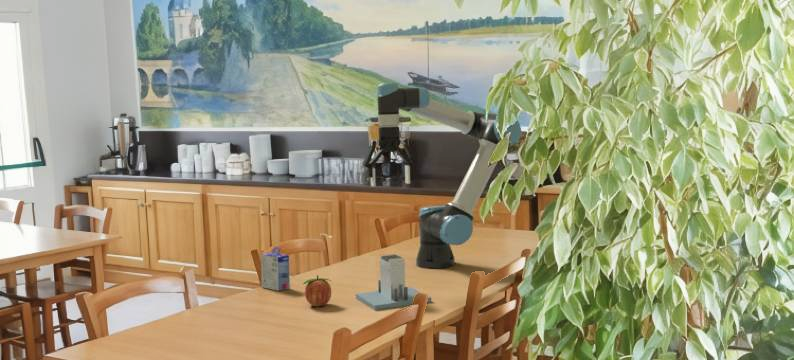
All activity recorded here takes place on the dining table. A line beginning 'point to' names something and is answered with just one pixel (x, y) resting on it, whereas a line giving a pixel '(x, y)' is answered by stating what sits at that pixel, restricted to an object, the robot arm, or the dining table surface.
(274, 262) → the ink cartridge box
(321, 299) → the fruit
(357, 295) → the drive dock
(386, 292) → the grey tall block
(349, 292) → the dining table surface
